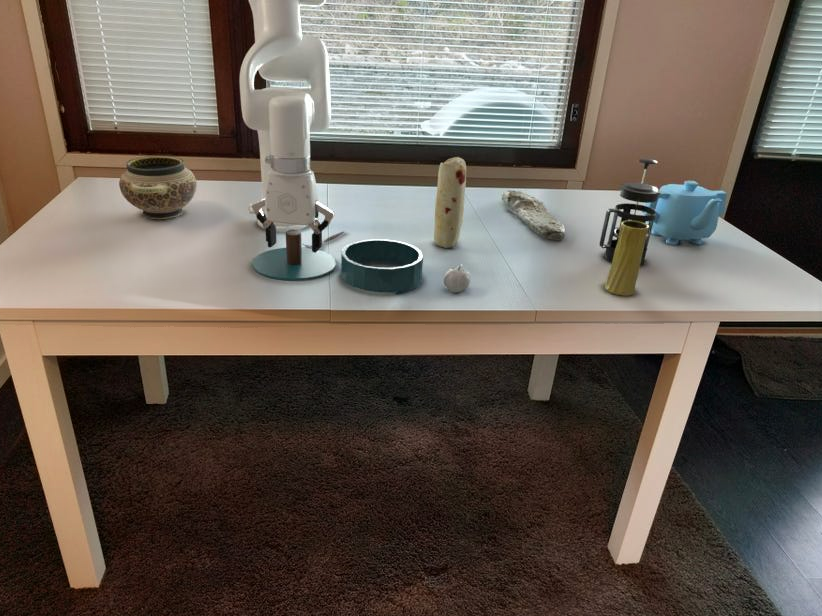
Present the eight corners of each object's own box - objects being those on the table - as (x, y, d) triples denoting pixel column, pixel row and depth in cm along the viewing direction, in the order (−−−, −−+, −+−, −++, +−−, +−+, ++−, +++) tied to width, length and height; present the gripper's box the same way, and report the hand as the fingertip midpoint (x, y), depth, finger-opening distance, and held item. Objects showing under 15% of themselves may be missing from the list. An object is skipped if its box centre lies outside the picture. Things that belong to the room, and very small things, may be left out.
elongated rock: (535, 246, 160) (572, 248, 162) (540, 226, 157) (577, 228, 159) (492, 197, 188) (524, 199, 190) (496, 179, 185) (528, 181, 188)
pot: (331, 288, 129) (331, 262, 127) (353, 259, 143) (353, 235, 141) (412, 299, 127) (414, 273, 124) (427, 268, 141) (429, 244, 138)
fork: (349, 234, 157) (349, 226, 156) (311, 254, 145) (311, 246, 144) (340, 232, 158) (340, 224, 157) (301, 252, 146) (301, 243, 145)
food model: (461, 252, 151) (470, 165, 140) (432, 250, 151) (439, 163, 140) (459, 238, 159) (468, 154, 149) (432, 236, 159) (439, 152, 149)
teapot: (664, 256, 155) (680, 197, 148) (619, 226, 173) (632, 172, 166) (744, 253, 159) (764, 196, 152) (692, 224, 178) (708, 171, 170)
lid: (238, 277, 132) (235, 241, 128) (271, 247, 147) (269, 215, 143) (321, 288, 129) (320, 252, 125) (345, 257, 144) (346, 224, 140)
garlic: (455, 282, 135) (457, 258, 133) (475, 290, 132) (478, 266, 130) (436, 289, 131) (438, 265, 129) (457, 298, 128) (459, 273, 126)
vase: (600, 284, 138) (614, 219, 131) (627, 284, 139) (643, 219, 132) (610, 296, 133) (626, 229, 126) (639, 296, 134) (656, 229, 126)
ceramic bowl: (152, 208, 175) (130, 152, 168) (215, 194, 174) (195, 138, 166) (121, 240, 154) (93, 178, 146) (192, 225, 153) (168, 161, 145)
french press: (638, 252, 156) (662, 155, 145) (654, 267, 148) (681, 165, 137) (590, 251, 155) (611, 153, 144) (604, 266, 147) (627, 163, 136)
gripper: (241, 164, 125) (247, 249, 134) (327, 172, 122) (328, 258, 131) (257, 156, 132) (262, 237, 140) (339, 164, 129) (339, 246, 137)
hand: (294, 247), depth 135 cm, fingers open, 9 cm apart
